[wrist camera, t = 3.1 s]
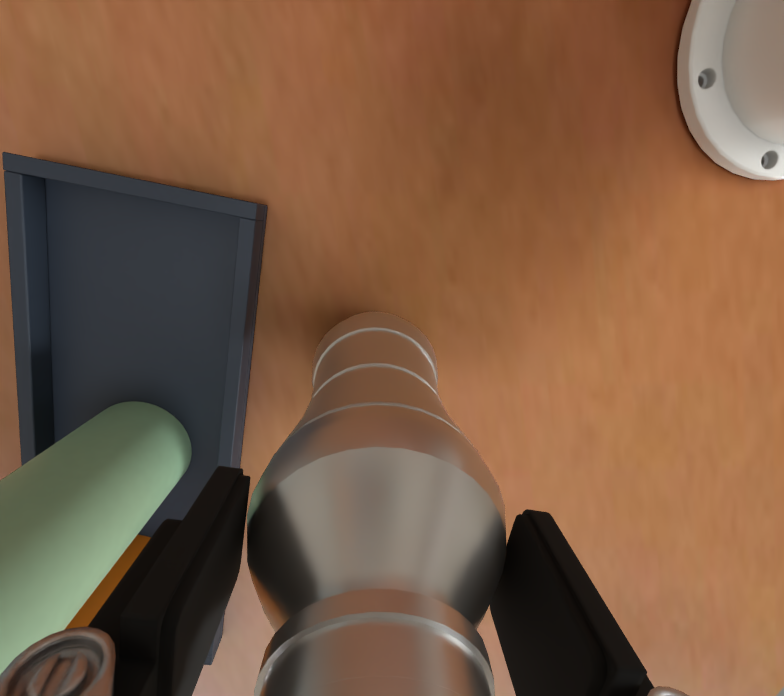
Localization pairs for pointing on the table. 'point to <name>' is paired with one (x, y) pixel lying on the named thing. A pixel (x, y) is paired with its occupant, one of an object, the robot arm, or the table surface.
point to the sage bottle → (80, 515)
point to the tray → (132, 310)
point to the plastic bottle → (376, 529)
